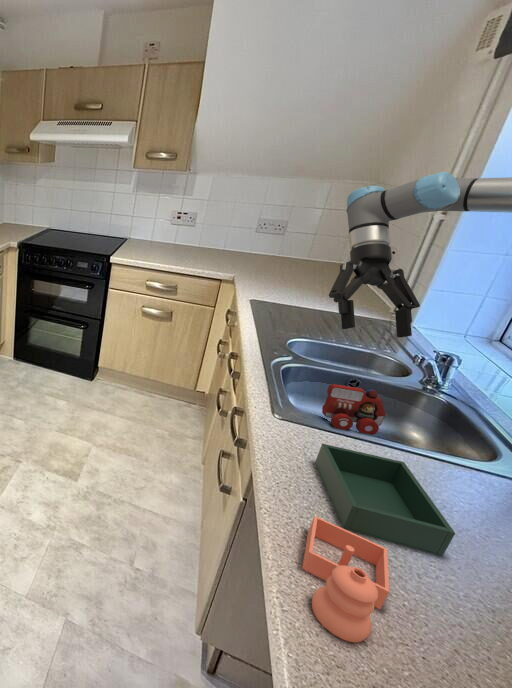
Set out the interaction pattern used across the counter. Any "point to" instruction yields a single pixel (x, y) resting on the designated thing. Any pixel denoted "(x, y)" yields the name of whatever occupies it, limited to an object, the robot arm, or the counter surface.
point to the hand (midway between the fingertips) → (376, 332)
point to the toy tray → (382, 500)
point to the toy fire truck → (354, 408)
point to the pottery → (346, 581)
